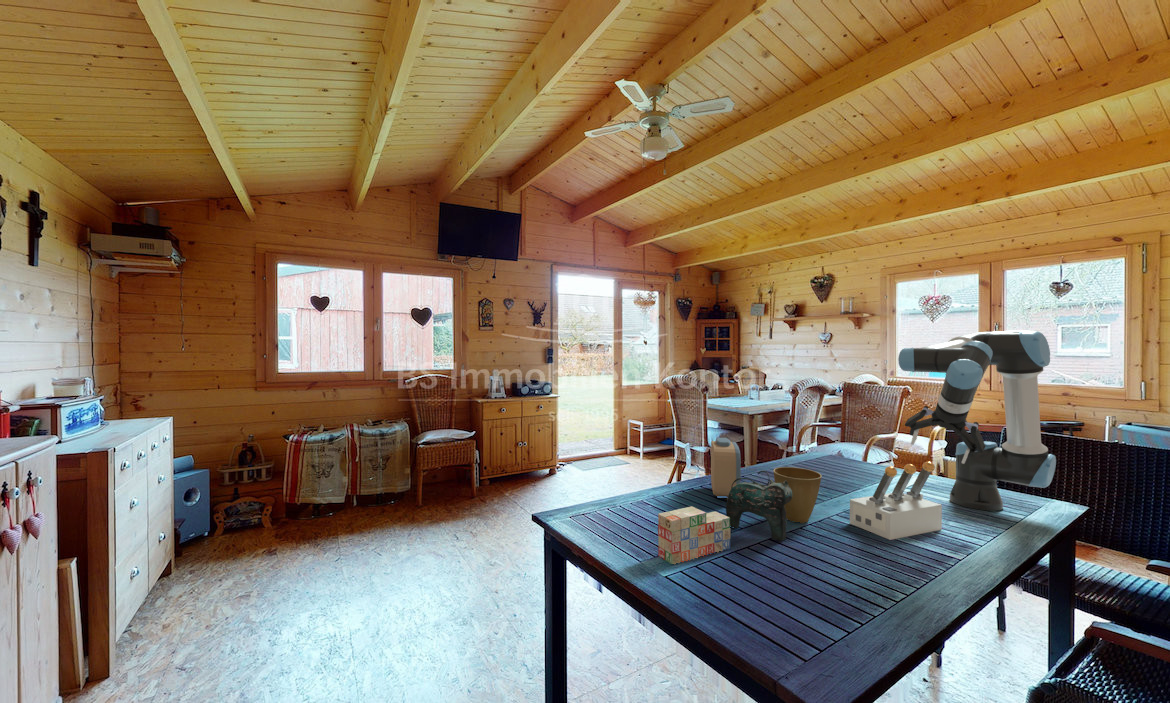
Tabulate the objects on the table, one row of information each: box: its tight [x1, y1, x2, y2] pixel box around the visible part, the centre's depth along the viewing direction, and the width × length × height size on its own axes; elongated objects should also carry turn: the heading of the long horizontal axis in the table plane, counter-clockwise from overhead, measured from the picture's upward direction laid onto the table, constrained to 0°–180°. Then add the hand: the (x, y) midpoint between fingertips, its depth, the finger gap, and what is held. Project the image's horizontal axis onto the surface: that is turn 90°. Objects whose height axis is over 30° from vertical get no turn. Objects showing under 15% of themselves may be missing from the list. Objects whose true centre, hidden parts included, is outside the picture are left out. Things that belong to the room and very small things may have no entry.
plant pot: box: [772, 466, 823, 524], centre depth 158 cm, size 15×15×16 cm
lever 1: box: [869, 465, 898, 504], centre depth 146 cm, size 3×3×14 cm
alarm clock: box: [710, 437, 742, 497], centre depth 185 cm, size 21×10×22 cm, turn 168°
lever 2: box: [905, 461, 936, 498], centre depth 152 cm, size 3×3×14 cm
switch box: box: [849, 492, 943, 541], centre depth 151 cm, size 24×14×10 cm, turn 110°
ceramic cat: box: [725, 470, 792, 542], centre depth 146 cm, size 20×6×20 cm, turn 47°
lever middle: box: [888, 463, 917, 501], centre depth 149 cm, size 3×3×14 cm
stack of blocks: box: [657, 505, 731, 565], centre depth 132 cm, size 21×6×12 cm, turn 118°
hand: (937, 450), depth 149 cm, fingers open, 13 cm apart
